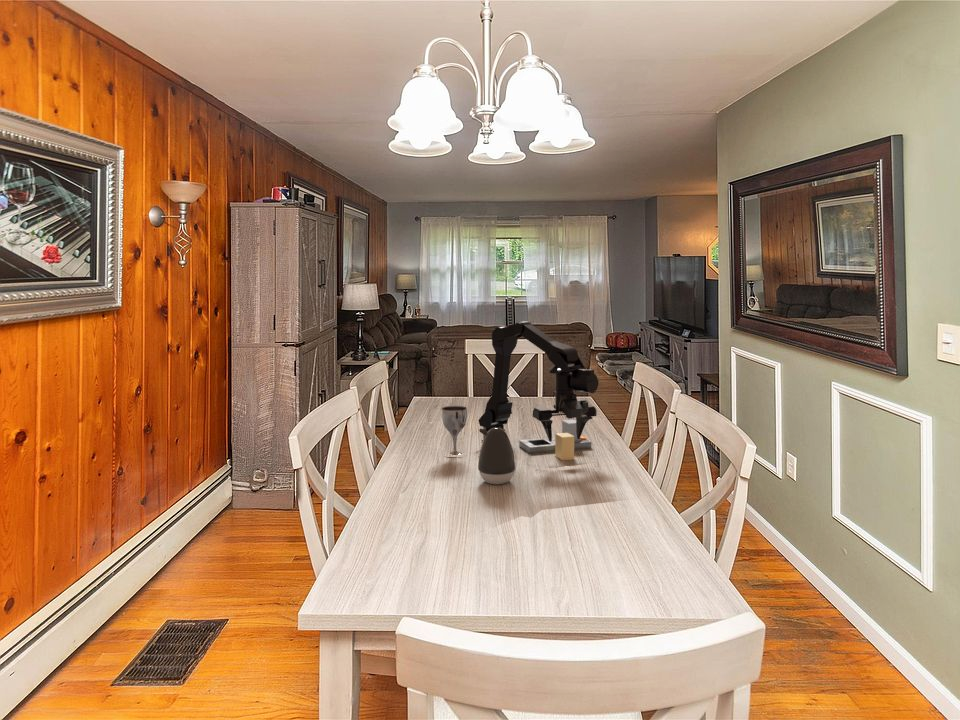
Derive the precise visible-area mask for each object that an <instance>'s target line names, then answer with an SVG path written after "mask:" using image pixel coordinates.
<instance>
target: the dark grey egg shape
mask: <svg viewBox="0 0 960 720" xmlns="http://www.w3.org/2000/svg"><path fill="white" fill-rule="evenodd" d="M478 432H479V433H480V434H482V435H483V434H484V435H485V438H484V440H483V439H482V440H483V442H482V444H481V447H480V451H479V455H478V464H477V469H478V471H479V475H480V477H481V478H482V480H483V481H484V482H486V483H488V484H491V485H503V484H507V483H508V482H509V481H510V480H511V479H512V478H513V476H514V472H515V471H516V460H515V459H516V458H515V454H514V449H513V445H512V443H511V440H510V438H509V435H508V434H507V432H506V430H505V431H504V430H503V429H502V428H499V427H494V428H492V429H490V430H489V431H486V430H484V429H483V428H479V430H478Z"/></svg>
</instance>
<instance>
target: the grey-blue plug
mask: <svg viewBox="0 0 960 720" xmlns="http://www.w3.org/2000/svg"><path fill="white" fill-rule="evenodd" d="M561 433H569V434H571V435H573V436H574V442H580V439H577V434H576V419H565V420H564V419H563V420H561Z"/></svg>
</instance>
